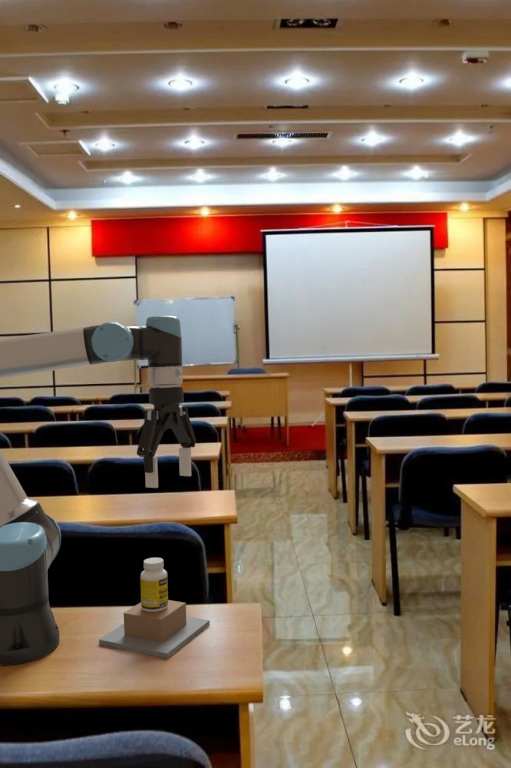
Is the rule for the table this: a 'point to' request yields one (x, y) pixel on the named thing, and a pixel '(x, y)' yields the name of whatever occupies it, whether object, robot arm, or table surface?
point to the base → (153, 645)
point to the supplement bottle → (154, 586)
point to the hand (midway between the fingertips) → (169, 481)
